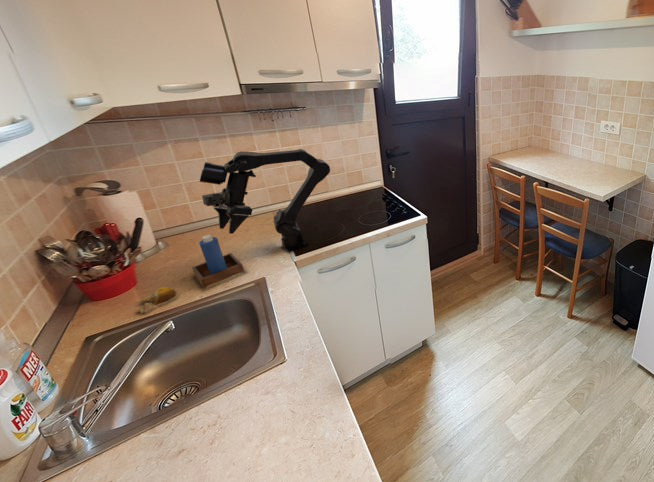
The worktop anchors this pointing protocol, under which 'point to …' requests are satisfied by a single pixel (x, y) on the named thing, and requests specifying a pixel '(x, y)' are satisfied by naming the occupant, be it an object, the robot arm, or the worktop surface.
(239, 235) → the worktop surface
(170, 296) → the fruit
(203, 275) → the tray
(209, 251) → the bottle
